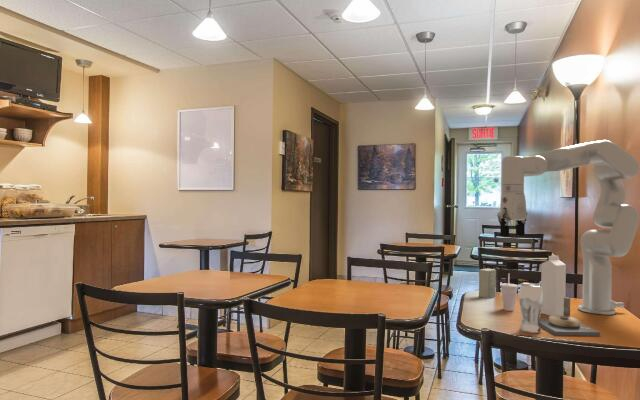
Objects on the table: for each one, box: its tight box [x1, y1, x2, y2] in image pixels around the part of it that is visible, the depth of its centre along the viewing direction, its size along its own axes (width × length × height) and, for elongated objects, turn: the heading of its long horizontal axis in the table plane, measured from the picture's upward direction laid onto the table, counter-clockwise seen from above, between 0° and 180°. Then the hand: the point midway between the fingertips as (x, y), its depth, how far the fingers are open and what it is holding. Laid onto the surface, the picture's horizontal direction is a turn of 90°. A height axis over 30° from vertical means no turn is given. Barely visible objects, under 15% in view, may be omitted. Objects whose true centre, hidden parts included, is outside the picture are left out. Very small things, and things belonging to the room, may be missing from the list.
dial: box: [548, 296, 581, 327], centre depth 150 cm, size 9×11×7 cm
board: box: [540, 317, 601, 337], centre depth 149 cm, size 14×16×2 cm
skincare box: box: [478, 267, 497, 299], centre depth 197 cm, size 6×4×12 cm
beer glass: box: [518, 282, 543, 334], centre depth 146 cm, size 7×7×15 cm
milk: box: [540, 254, 567, 316], centre depth 168 cm, size 6×6×22 cm
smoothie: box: [500, 272, 519, 312], centre depth 174 cm, size 6×6×14 cm
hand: (512, 235), depth 166 cm, fingers open, 9 cm apart
